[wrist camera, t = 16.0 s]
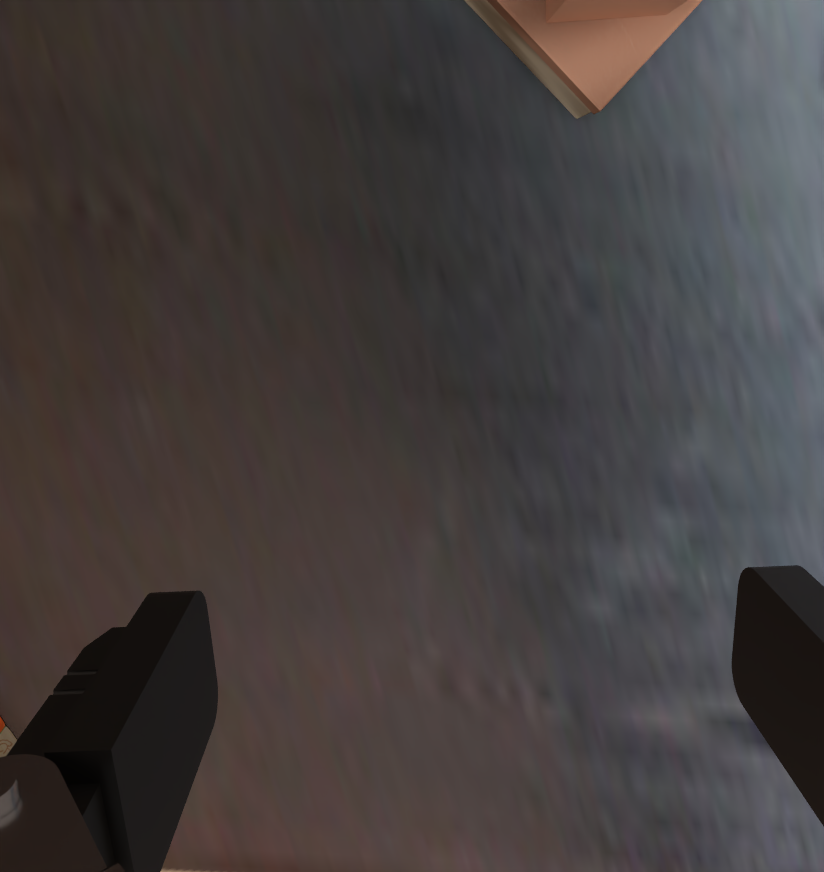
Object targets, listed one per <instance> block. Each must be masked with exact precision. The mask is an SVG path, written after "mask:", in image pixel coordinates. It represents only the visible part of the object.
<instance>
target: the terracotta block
mask: <svg viewBox="0 0 824 872" xmlns="http://www.w3.org/2000/svg"><path fill="white" fill-rule="evenodd" d="M686 1H687V0H546V23H555V22H569V21H584V20H598V19H613V18H627V17H642V16H657V15H667V14H668V13H670V12H671V11H673V10H674V9H676V8H677V7H679V6H680V5H682V4H683V3H684V2H686Z"/></svg>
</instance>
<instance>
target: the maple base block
mask: <svg viewBox="0 0 824 872" xmlns="http://www.w3.org/2000/svg"><path fill="white" fill-rule="evenodd" d="M464 1H465V2H466V3H467V4H468V5H469V6H470V7H471V8H472V9H473V10H474V11H475V12H476V13H477V14H478V15H479V17H480V18H481V19H482V20H483V21H484V22H485V23H486V24H487V25H488V26H489V27H490V28H491V29H492V30H493V31H494V32H495V33H496V35H497V36H498V37H499V38H500V39H501V40H502V41H503V42H504V43H505V44H506V45H507V46H508V47H509V48H510V49H511V50H512V51H513V53H514V54H515V55H516V56H517V57H518V58H519V59H520V60H521V61H522V62H523V63H524V64H525V65H526V66H527V67H528V68H529V69H530V71H531V72H532V73H533V74H534V75H535V76H536V77H537V78H538V79H539V80H540V81H541V82H542V83H543V84H544V85H545V86H546V87H547V89H548V90H549V91H550V92H551V93H552V94H553V95H554V96H555V97H556V98H557V99H558V100H559V101H560V102H561V103H562V104H563V105H564V107H565V108H566V109H567V110H568V111H569V112H570V113H571V114H572V115H573V116H574V117H575V118H576V119H578V118H580V117H582V116H584V115H586V114H588V113H590V112H592V113H593V114H595V113H597V112H599V111H601V110H602V109H603V108H604V106H605V105H606V104H607V103H608V102H609V101H610V100H611V99H612V98H613V97H614V96H615V95H616V93H617V92H618V91H619V90H620V89H621V88H622V87H623V86H624V85H625V84H626V83H627V82H628V80H629V79H630V78H631V77H632V76H633V75H634V74H635V73H636V72H637V71H638V70H639V68H640V67H641V66H642V65H643V64H644V63H645V62H646V61H647V60H648V59H649V58H650V57H651V55H652V54H653V53H654V52H655V51H656V50H657V49H658V48H659V47H660V46H661V45H662V44H663V42H664V41H665V40H666V39H667V38H668V37H669V36H670V35H671V34H672V33H673V32H674V31H675V29H676V28H677V27H678V26H679V25H680V24H681V23H682V22H683V21H684V20H685V19H686V17H687V16H688V15H689V14H690V13H691V12H692V11H693V10H694V9H695V8H696V7H697V6H698V4H699V3H700V2H701V1H702V0H687V1H686V2H684V3H683V4H682V5H680V6H679V7H677V8H676V9H674V10H673V11H671V12H670V13H668V14H667V15H657V16H642V17H627V18H613V19H598V20H584V21H569V22H555V23H546V0H464Z"/></svg>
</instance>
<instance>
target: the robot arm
mask: <svg viewBox="0 0 824 872" xmlns="http://www.w3.org/2000/svg"><path fill="white" fill-rule="evenodd" d="M732 674H733V680H734V685H735V689H736V692H737V695H738V697H739V700H740V702H741V703H742V705H743V707H744V708H745V710H746V711H747V713H748V714H749V716H750V717H751V719H752V720H753V722H754V723H755V725H756V726H757V728H758V729H759V731H760V732H761V734H762V735H763V737H764V738H765V740H766V741H767V743H768V744H769V746H770V747H771V749H772V750H773V751H774V753H775V754H776V756H777V757H778V759H779V760H780V762H781V763H782V765H783V766H784V768H785V769H786V771H787V772H788V774H789V775H790V777H791V778H792V780H793V781H794V783H795V784H796V786H797V787H798V789H799V790H800V792H801V793H802V795H803V796H804V798H805V799H806V801H807V802H808V804H809V805H810V807H811V808H812V810H813V811H814V813H815V814H816V816H817V817H818V819H819V820H820V822H821V823H822V824H823V826H824V586H822V585H821V584H820V583H819V582H818V581H817V580H816V579H815V578H814V577H813V576H812V575H810V574H809V573H808V572H807V571H806V570H805V569H804V568H802V567H801V566H797V565H794V566H771V567H749V568H745V569H744V570H743V571H742V573H741V575H740V579H739V584H738V594H737V605H736V617H735V629H734V640H733V652H732ZM217 703H218V685H217V676H216V669H215V661H214V654H213V646H212V639H211V632H210V624H209V617H208V610H207V604H206V600H205V597H204V595H203V593H202V592H201V591H181V592H158V593H150V594H148V595H147V596H146V598H145V599H144V601H143V602H142V604H141V605H140V607H139V608H138V610H137V611H136V613H135V615H134V616H133V618H132V619H131V621H130V622H129V624H128V625H127V627H116V628H111V629H110V630H108V631H107V632H106V633H104V634H103V635H101V636H100V637H99V638H97V639H96V640H94V641H93V642H92V643H90V644H89V645H87V646H86V647H85V648H84V649H83V650H82V651H81V653H80V654H79V655H78V657H77V658H76V660H75V661H74V662H73V664H72V665H71V667H70V668H69V669H68V671H67V675H64V676H63V678H62V679H61V680H60V682H59V683H58V685H57V686H56V687H55V689H54V693H53V695H50V696H49V697H48V698H47V700H46V701H45V703H44V704H43V705H42V707H41V708H40V710H39V711H38V712H37V714H36V715H35V716H34V718H33V719H32V721H31V722H30V723H29V725H28V726H27V728H26V729H25V730H24V732H23V733H22V735H21V736H20V737H19V739H18V740H17V741H16V743H15V744H14V746H13V747H12V748H11V750H10V751H9V753H8V754H7V755H6V756H4V757H0V872H160V871H161V869H162V866H163V863H164V860H165V858H166V855H167V852H168V850H169V847H170V844H171V841H172V839H173V836H174V833H175V830H176V828H177V825H178V822H179V819H180V817H181V814H182V811H183V809H184V806H185V803H186V800H187V798H188V795H189V792H190V789H191V787H192V784H193V781H194V778H195V776H196V773H197V770H198V767H199V765H200V762H201V759H202V757H203V754H204V751H205V748H206V746H207V743H208V740H209V737H210V735H211V732H212V729H213V726H214V723H215V719H216V713H217Z"/></svg>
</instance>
